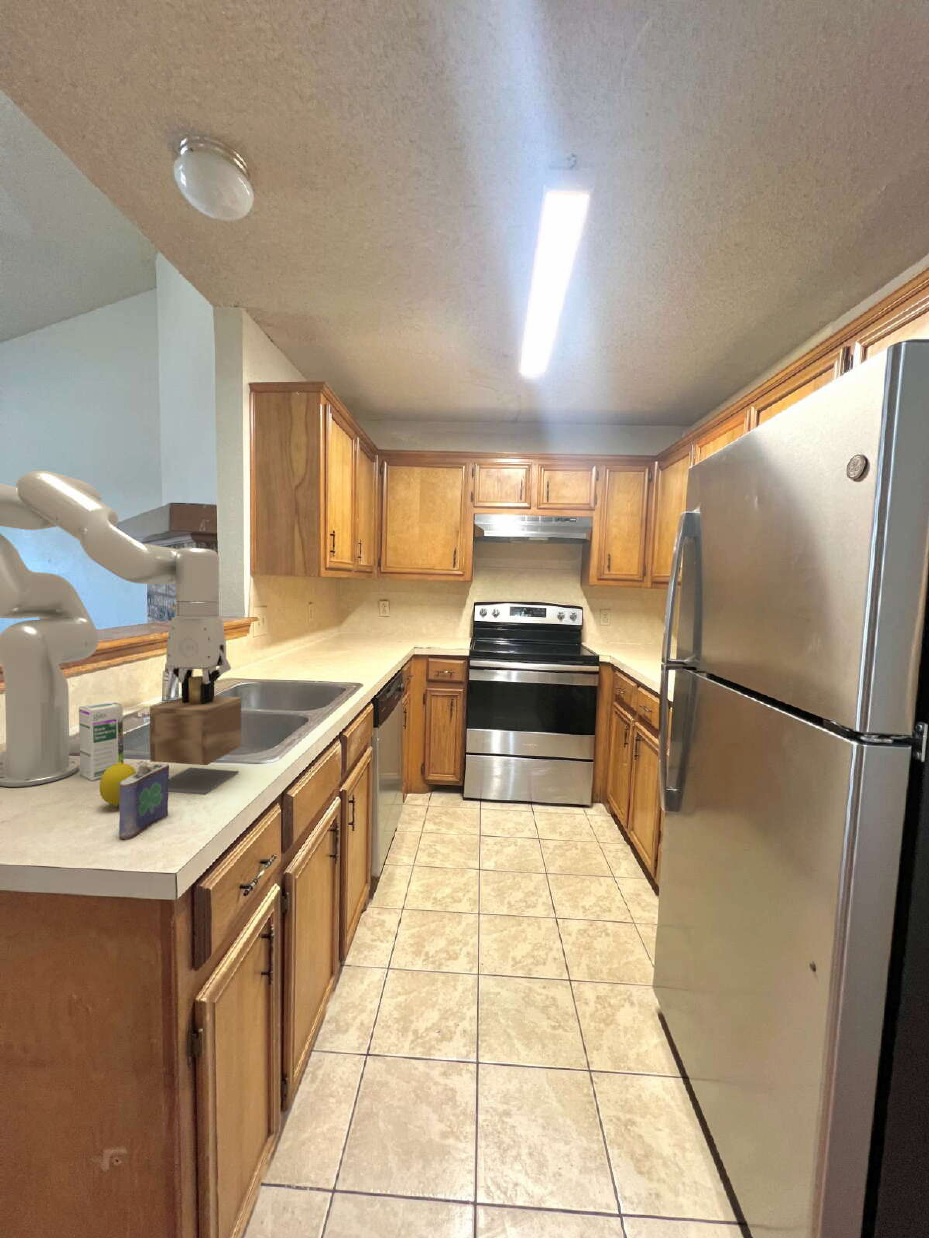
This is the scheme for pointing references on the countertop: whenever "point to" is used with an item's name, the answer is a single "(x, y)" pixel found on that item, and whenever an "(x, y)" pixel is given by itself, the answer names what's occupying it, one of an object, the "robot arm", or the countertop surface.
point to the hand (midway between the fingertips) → (198, 700)
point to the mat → (198, 780)
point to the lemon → (114, 781)
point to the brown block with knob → (195, 728)
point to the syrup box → (100, 738)
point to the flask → (143, 799)
